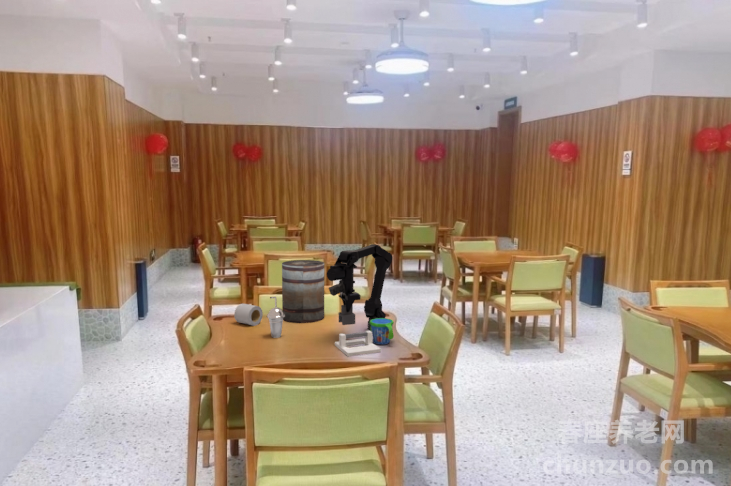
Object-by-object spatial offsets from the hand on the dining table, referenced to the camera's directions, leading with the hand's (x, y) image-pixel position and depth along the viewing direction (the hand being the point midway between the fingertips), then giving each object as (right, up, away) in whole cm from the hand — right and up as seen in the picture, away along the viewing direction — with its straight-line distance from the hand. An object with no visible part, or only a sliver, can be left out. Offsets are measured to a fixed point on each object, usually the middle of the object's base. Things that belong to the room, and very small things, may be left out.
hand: (347, 311), depth 229 cm
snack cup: (+16, -14, -4) cm, 21 cm away
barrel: (-25, -9, +39) cm, 47 cm away
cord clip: (0, -5, +1) cm, 5 cm away
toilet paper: (-52, -10, +26) cm, 59 cm away
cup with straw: (-34, -13, +4) cm, 36 cm away
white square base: (+5, -14, -13) cm, 20 cm away
